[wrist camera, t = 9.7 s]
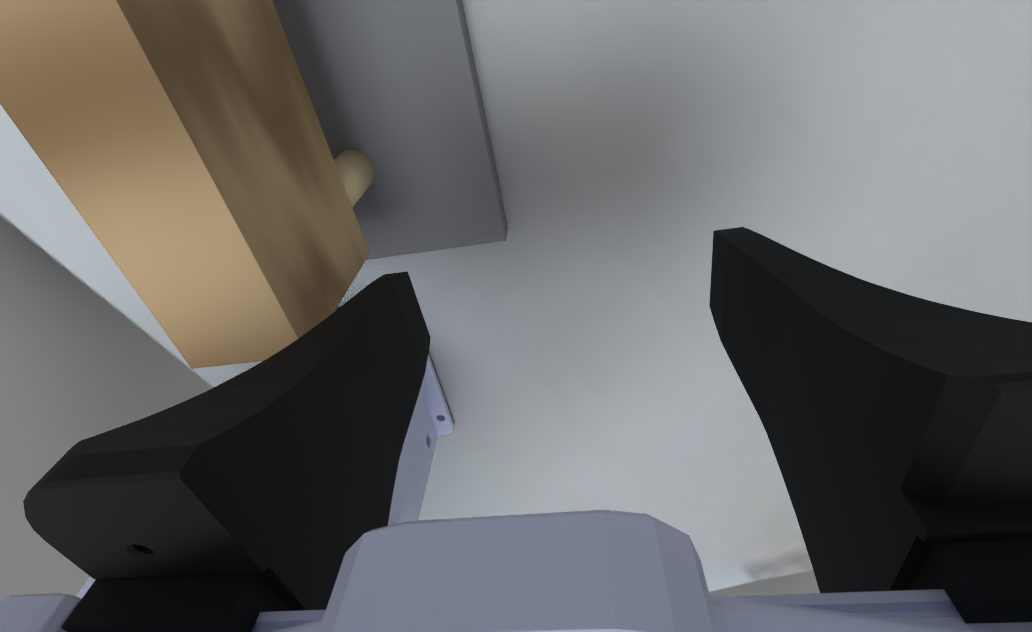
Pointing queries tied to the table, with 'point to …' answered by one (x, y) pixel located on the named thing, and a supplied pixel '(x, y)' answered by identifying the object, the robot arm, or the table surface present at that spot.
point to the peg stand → (400, 118)
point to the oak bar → (188, 162)
